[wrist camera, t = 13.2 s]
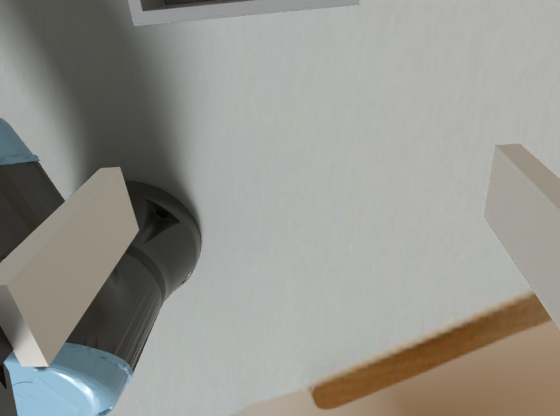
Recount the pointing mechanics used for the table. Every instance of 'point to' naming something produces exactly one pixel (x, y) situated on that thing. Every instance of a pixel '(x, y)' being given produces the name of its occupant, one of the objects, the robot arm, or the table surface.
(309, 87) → the table surface
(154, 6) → the bin
